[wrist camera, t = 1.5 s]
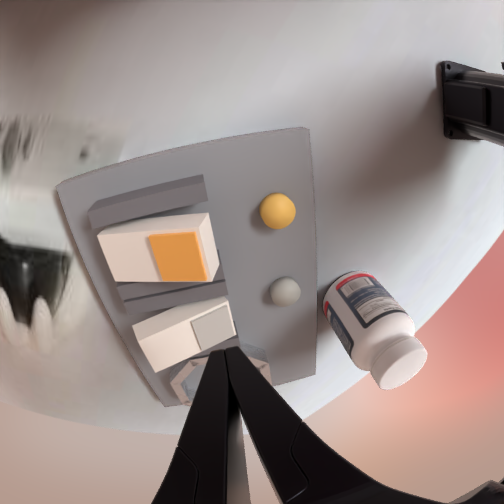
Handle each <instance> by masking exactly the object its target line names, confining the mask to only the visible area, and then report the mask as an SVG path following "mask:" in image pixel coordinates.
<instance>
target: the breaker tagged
mask: <svg viewBox="0 0 504 504" xmlns="http://www.w3.org/2000/svg"><path fill="white" fill-rule="evenodd" d="M97 237H98V240H99V242H100V245H101V248H102V250H103V253H104V255H105V258H106V260H107V263H108V265H109V268H110V270H111V273H112V275H113V277H114V280H115V281H123V282H212V281H213V278H214V276H215V273H216V271H217V269H218V266H219V259H218V255H217V250H216V246H215V241H214V236H213V232H212V227H211V222H210V218H209V213H199V214H187V215H176V216H165V217H155V218H145V219H136V220H126V221H121V222H118V223H114V224H110V225H108V226H107V227H106V228H105V229H104V230H102V231H101V232H100V233H99V234H98V235H97Z"/></svg>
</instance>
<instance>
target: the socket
mask: <svg viewBox="0 0 504 504" xmlns="http://www.w3.org/2000/svg"><path fill="white" fill-rule="evenodd" d="M240 345H241V347H240V349H241V350H242V351H243V352H244V353H245V355H246V356H247V357H248V358H249V359H250V361H251V362H252V363H253V364H254V365H255V367H258V368H259V371H260V373H261V374H262V375H263V376H264V377H265V378H266V380H267V381H268V382H269V383H270V384H271V385H272V381H271V374H270V368H269V362H268V359H267V356H266V353H265V350H263V349H261V348H258V347H255V346H253V345H250V344H247V343H245V342H242V341H240ZM208 357H209V354H207V355H202V356H197V357H192V358H187V359H185V360H183V361H181V362H178V363H176V364H174V365H173V366H172V367H171V368H170V384H171V386H172V387H173V389H174V391H175V393H176V394H177V396H178V398H179V399H180V401H181V402H182V404H184V405H188V406H191V404H192V402H193V399H194V396H195V393H196V390H195V389H191V388H188V386H187V384H186V382H185V380H184V379H185V378H186V377H187V376H188V375H189V374H190V373H191V372H192V370H193V369H194V368H195V367H196V366H198V365H204V364H206V362H207V359H208Z"/></svg>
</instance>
